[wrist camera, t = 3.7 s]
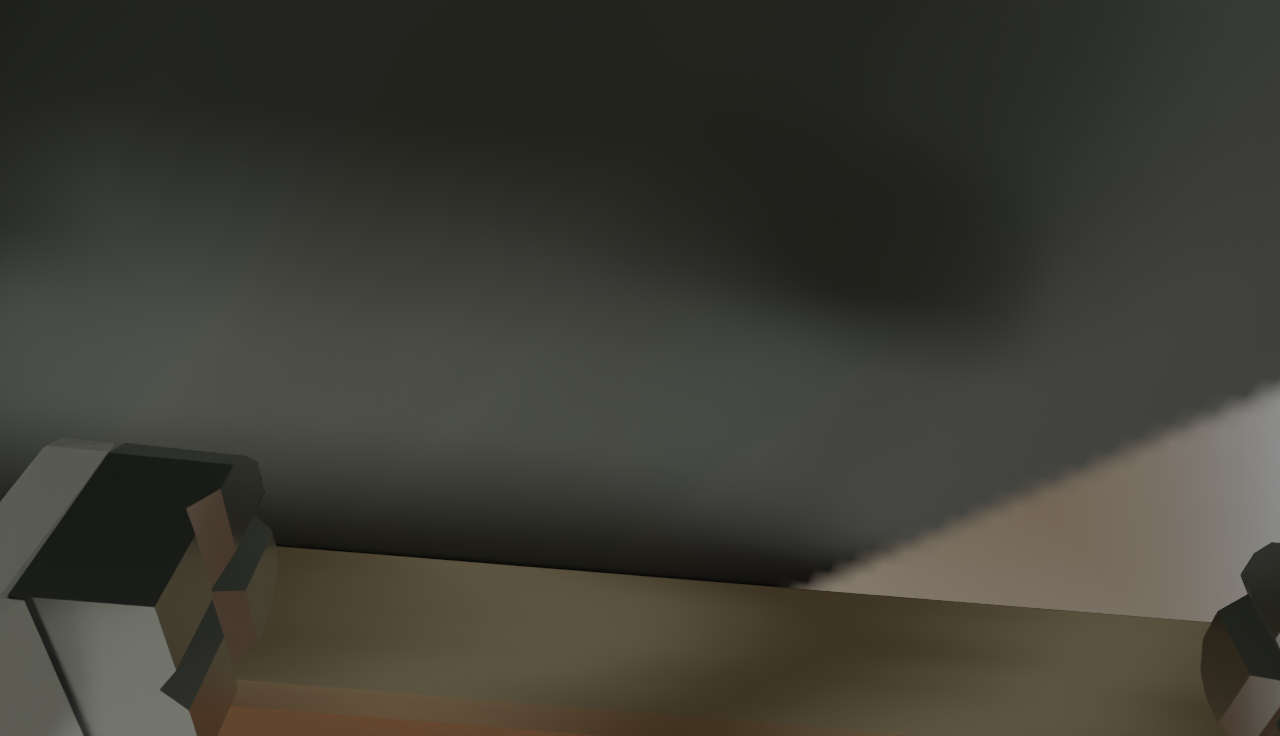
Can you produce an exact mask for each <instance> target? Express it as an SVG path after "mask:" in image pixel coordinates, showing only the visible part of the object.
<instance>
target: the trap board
mask: <svg viewBox="0 0 1280 736" xmlns="http://www.w3.org/2000/svg"><path fill="white" fill-rule="evenodd" d="M276 550H277V581H276V586H275V591H274V596H273V601H272V606H271V611H270V614H269V617H268V619H267V622H266V624H265V627H264V629H263V632H262V634H261V636H260V639H259V641H258V643H257V644H255V645H254V646H253V647H251V648H250V649H249V650H247V651H246V652H245V653H243V654H242V655H240V656H239V657H238V658H236V659H235V660H234V661H232V662H231V664H232V668H233V672H234V676H235V680H236V684H237V687H238V690H237V692H236V695H235V697H234V699H233V701H232V704H231V706H242V707H254V708H266V709H279V710H291V711H303V712H315V713H328V714H340V715H352V716H365V717H377V718H389V719H401V720H414V721H426V722H438V723H450V724H463V725H475V726H487V727H499V728H512V729H524V730H536V731H548V732H561V733H573V734H585V735H597V736H1231V735H1230V734H1229V733H1228V732H1227V731H1225V730H1224V729H1223V728H1222V727H1221V726H1220V725H1219V724H1218V723H1217V721H1216V719H1215V717H1214V714H1213V712H1212V710H1211V707H1210V705H1209V703H1208V701H1207V698H1206V696H1205V691H1204V686H1203V681H1202V677H1201V672H1200V667H1201V655H1202V643H1203V637H1204V636H1205V634H1206V632H1207V630H1208V628H1209V626H1210V625H1211V622H1199V621H1186V620H1174V619H1162V618H1149V617H1137V616H1124V615H1113V614H1101V613H1088V612H1076V611H1075V612H1074V611H1064V610H1052V609H1039V608H1027V607H1015V606H1002V605H990V604H978V603H966V602H953V601H941V600H928V599H916V598H904V597H892V596H880V595H867V594H855V593H854V594H853V593H843V592H830V591H818V590H806V589H794V588H782V587H769V586H757V585H745V584H733V583H720V582H708V581H696V580H684V579H671V578H659V577H647V576H634V575H622V574H610V573H598V572H585V571H573V570H561V569H549V568H536V567H524V566H512V565H500V564H487V563H475V562H463V561H450V560H438V559H426V558H414V557H401V556H389V555H377V554H365V553H352V552H340V551H328V550H316V549H303V548H291V547H279V546H276Z"/></svg>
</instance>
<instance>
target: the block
mask: <svg viewBox="0 0 1280 736" xmlns="http://www.w3.org/2000/svg"><path fill="white" fill-rule="evenodd" d="M218 736H597V735H585V734H573V733H561V732H548V731H536V730H524V729H512V728H499V727H487V726H475V725H463V724H450V723H438V722H426V721H414V720H401V719H389V718H377V717H365V716H352V715H340V714H328V713H315V712H303V711H291V710H279V709H266V708H254V707H242V706H230V708H229V711H228V713H227V715H226V717H225V720H224V722H223V724H222V727H221V729H220V731H219V733H218Z"/></svg>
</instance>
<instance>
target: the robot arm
mask: <svg viewBox="0 0 1280 736" xmlns="http://www.w3.org/2000/svg"><path fill="white" fill-rule="evenodd" d="M264 493H265V491H264V487H263V483H262V479H261V475H260V471H259V467H258V463H257V462H256V461H254V460H252V459H250V458H249V457H247V456H241V455H231V454H222V453H213V452H204V451H194V450H185V449H176V448H167V447H158V446H148V445H139V444H130V443H125V444H116V443H107V442H99V441H90V440H81V439H73V438H64V437H63V438H61V439H59V440H57V441H55V442H53V443H51V444H49V445H47V446H45V447H44V448H43V449H42V450H41V451H40V452H39V453H38V455H37V456H36V457H35V458H34V460H33V461H32V462H31V463H30V465H29V466H28V467H27V468H26V470H25V471H24V472H23V473H22V475H21V476H20V477H19V478H18V480H17V481H16V482H15V483H14V485H13V486H12V487H11V488H10V490H9V491H8V492H7V493H6V495H5V496H4V497H3V498H2V500H1V501H0V736H218V733H219V731H220V729H221V727H222V724H223V722H224V720H225V717H226V715H227V713H228V711H229V708H230V706H231V704H232V701H233V699H234V697H235V695H236V692H237V690H238V687H237V684H236V680H235V676H234V672H233V668H232V664H231V662H232V661H234V660H235V659H236V658H238V657H239V656H240V655H242V654H243V653H245V652H246V651H247V650H249V649H250V648H251V647H253V646H254V645H255V644H257V643H258V641H259V639H260V636H261V634H262V632H263V629H264V627H265V624H266V622H267V619H268V617H269V614H270V611H271V606H272V601H273V596H274V591H275V586H276V581H277V550H276V544H275V539H274V534H273V531H272V530H271V529H270V528H269V527H268V526H267V525H266V524H265V523H264V522H263V521H262V520H260V519H259V518H258V517H257V516H256V515H255V514H254V513H255V511H256V509H257V507H258V505H259V503H260V501H261V499H262V497H263V495H264ZM1241 577H1242V580H1243V583H1244V585H1245V588H1246V590H1247V593H1248V594H1247V595H1246V596H1244V597H1242V598H1240V599H1239V600H1237V601H1235V602H1233V603H1231V604H1230V605H1228V606H1226V607H1224V608H1223V609H1221V610H1219V611H1218V612H1217V614H1216V615H1215V617H1214V619H1213V621H1212V623H1211V625H1210V626H1209V628H1208V630H1207V632H1206V634H1205V636H1204V637H1203V643H1202V655H1201V667H1200V672H1201V677H1202V681H1203V686H1204V691H1205V696H1206V698H1207V701H1208V703H1209V705H1210V707H1211V710H1212V712H1213V714H1214V717H1215V719H1216V721H1217V723H1218V724H1219V725H1220V726H1221V727H1222V728H1223V729H1224V730H1225V731H1227V732H1228V733H1229V734H1230V735H1231V736H1280V543H1273V542H1272V543H1270V544H1269V545H1267V546H1265V547H1263V548H1262V549H1260V550H1259V551H1257V552H1255V553H1254V554H1253V556H1252V558H1251V559H1250V561H1249V562H1248V564H1247V565H1246V567H1245V568H1244V570H1243V571H1242V573H1241Z"/></svg>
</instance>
